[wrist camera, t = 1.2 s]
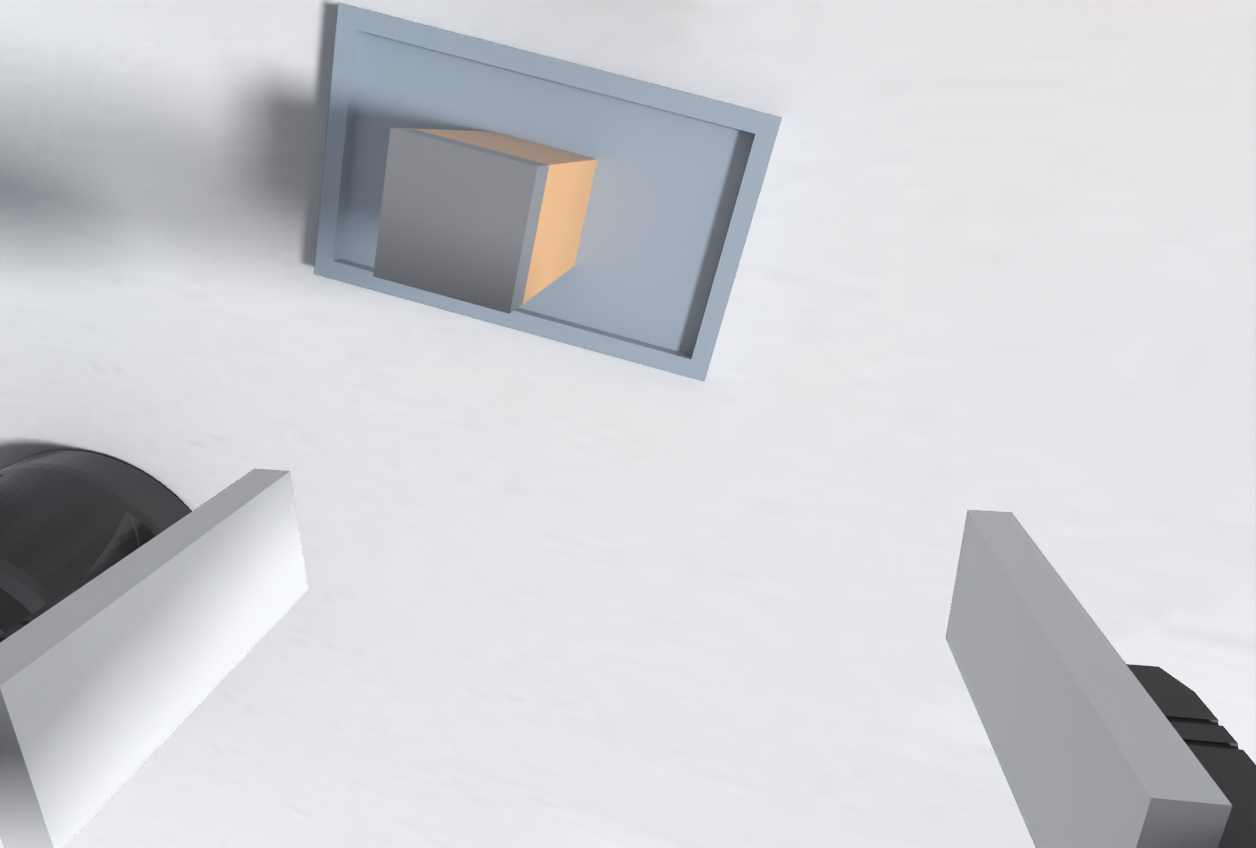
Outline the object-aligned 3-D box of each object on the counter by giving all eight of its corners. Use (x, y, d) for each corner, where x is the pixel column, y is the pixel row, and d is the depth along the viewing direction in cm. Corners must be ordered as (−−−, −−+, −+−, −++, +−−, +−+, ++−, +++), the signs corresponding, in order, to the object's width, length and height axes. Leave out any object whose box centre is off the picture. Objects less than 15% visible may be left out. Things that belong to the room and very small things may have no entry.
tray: (327, 269, 36) (313, 273, 34) (352, 7, 32) (338, 2, 30) (705, 373, 35) (703, 381, 34) (780, 118, 31) (781, 117, 30)
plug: (475, 239, 34) (373, 276, 24) (493, 131, 32) (390, 127, 23) (574, 266, 33) (509, 314, 24) (597, 159, 32) (537, 166, 23)
